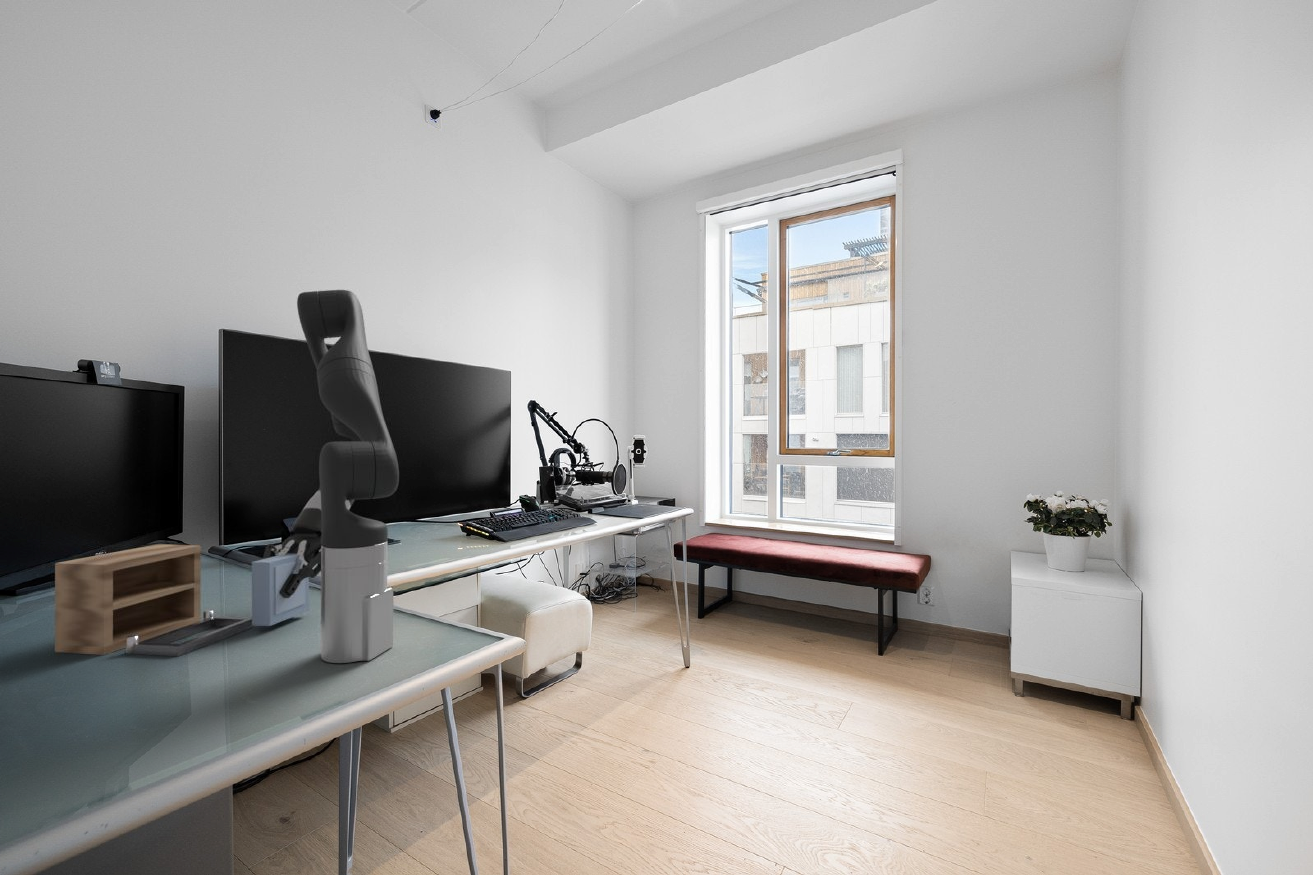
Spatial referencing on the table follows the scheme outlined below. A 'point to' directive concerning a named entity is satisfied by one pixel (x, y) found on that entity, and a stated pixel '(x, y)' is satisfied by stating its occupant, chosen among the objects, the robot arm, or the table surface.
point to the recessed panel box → (276, 591)
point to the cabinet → (125, 597)
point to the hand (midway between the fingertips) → (273, 595)
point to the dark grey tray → (162, 642)
